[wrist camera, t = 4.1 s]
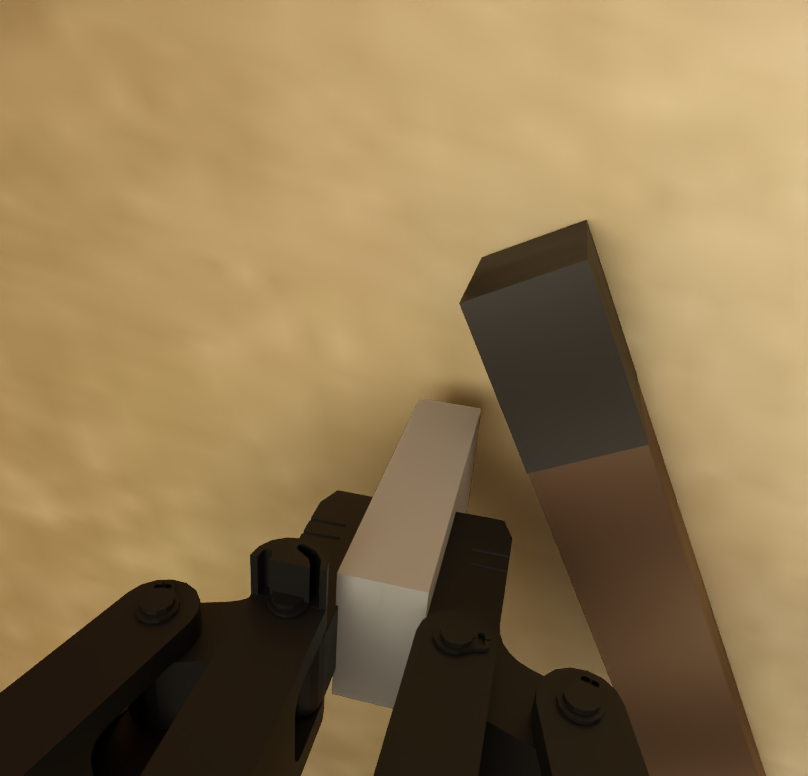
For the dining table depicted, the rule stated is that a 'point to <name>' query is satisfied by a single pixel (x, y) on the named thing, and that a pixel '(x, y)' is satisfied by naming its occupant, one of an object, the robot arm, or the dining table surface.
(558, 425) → the bar
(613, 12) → the dining table surface
